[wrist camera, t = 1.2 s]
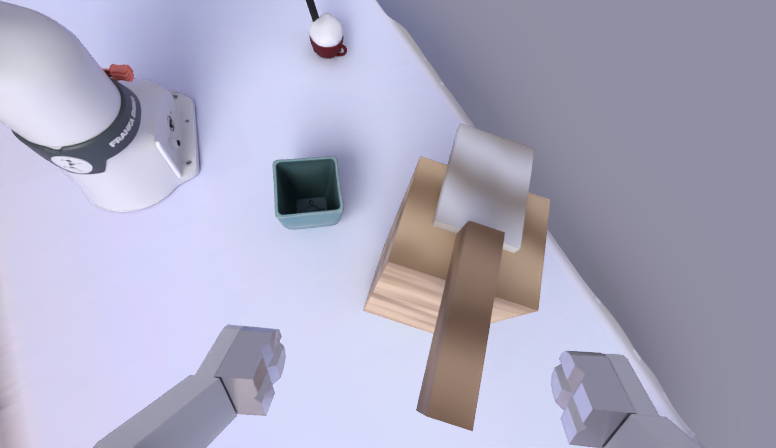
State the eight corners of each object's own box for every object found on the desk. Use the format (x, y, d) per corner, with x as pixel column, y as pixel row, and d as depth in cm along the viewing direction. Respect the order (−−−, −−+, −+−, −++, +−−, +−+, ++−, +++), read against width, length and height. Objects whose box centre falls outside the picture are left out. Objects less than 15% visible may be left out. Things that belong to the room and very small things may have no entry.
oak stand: (383, 248, 54) (420, 156, 30) (455, 272, 54) (550, 199, 30) (363, 310, 50) (388, 261, 26) (441, 336, 50) (538, 310, 26)
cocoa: (351, 61, 68) (357, 4, 57) (323, 71, 66) (325, 14, 55) (325, 28, 70) (327, -33, 59) (298, 37, 67) (294, -25, 56)
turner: (456, 130, 31) (467, 109, 29) (528, 154, 32) (545, 136, 29) (385, 400, 22) (391, 405, 20) (487, 433, 22) (506, 442, 20)
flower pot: (281, 189, 55) (272, 159, 47) (336, 185, 57) (336, 155, 48) (284, 241, 52) (275, 218, 44) (343, 234, 54) (344, 211, 45)
